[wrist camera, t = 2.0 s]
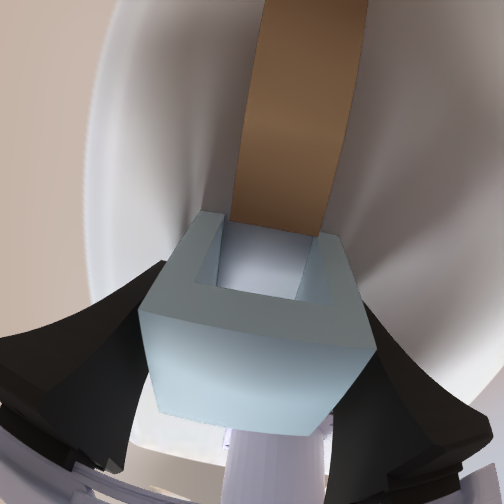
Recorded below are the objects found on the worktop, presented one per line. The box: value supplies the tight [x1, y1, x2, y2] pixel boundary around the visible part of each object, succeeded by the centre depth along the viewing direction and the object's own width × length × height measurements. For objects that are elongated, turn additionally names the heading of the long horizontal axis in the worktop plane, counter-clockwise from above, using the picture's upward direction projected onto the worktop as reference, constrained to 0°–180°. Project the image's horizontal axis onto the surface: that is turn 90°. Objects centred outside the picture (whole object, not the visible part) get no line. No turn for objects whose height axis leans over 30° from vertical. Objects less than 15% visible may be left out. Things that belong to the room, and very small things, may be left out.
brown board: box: [229, 0, 368, 237], centre depth 5 cm, size 12×2×3 cm, turn 171°
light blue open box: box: [138, 210, 377, 436], centre depth 9 cm, size 5×5×6 cm
